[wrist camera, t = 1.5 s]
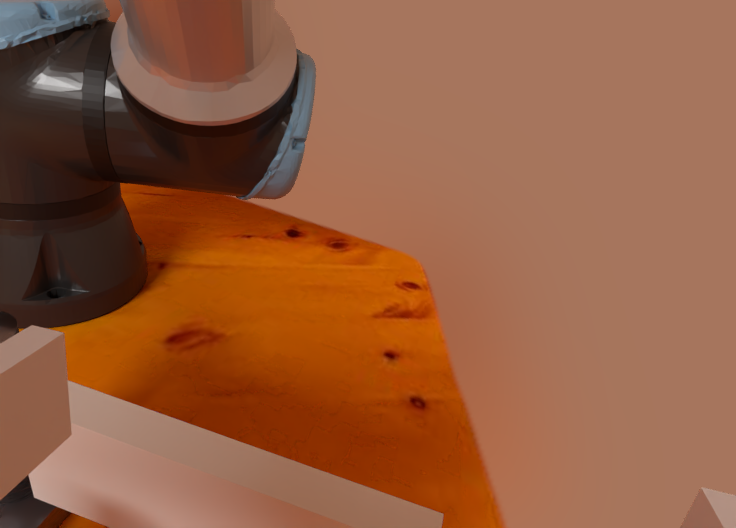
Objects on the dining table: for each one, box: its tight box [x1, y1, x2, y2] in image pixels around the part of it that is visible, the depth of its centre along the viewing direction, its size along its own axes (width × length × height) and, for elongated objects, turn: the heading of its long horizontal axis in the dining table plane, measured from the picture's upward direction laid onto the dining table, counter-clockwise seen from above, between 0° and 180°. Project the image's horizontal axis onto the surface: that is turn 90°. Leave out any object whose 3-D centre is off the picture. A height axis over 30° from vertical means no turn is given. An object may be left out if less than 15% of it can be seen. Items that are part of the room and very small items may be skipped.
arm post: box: [0, 311, 71, 528], centre depth 26 cm, size 6×6×12 cm
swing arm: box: [29, 381, 444, 528], centre depth 25 cm, size 20×2×7 cm, turn 73°
